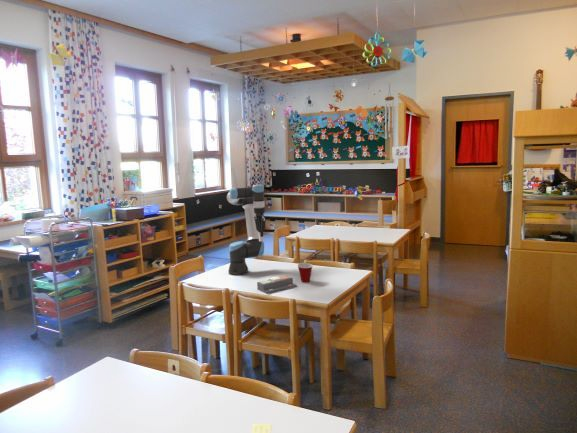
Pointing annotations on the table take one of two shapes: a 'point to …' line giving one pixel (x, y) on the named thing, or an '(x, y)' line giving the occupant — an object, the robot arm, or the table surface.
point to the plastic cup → (305, 271)
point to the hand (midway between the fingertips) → (261, 241)
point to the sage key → (265, 282)
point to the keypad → (276, 286)
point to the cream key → (274, 279)
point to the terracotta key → (284, 277)
